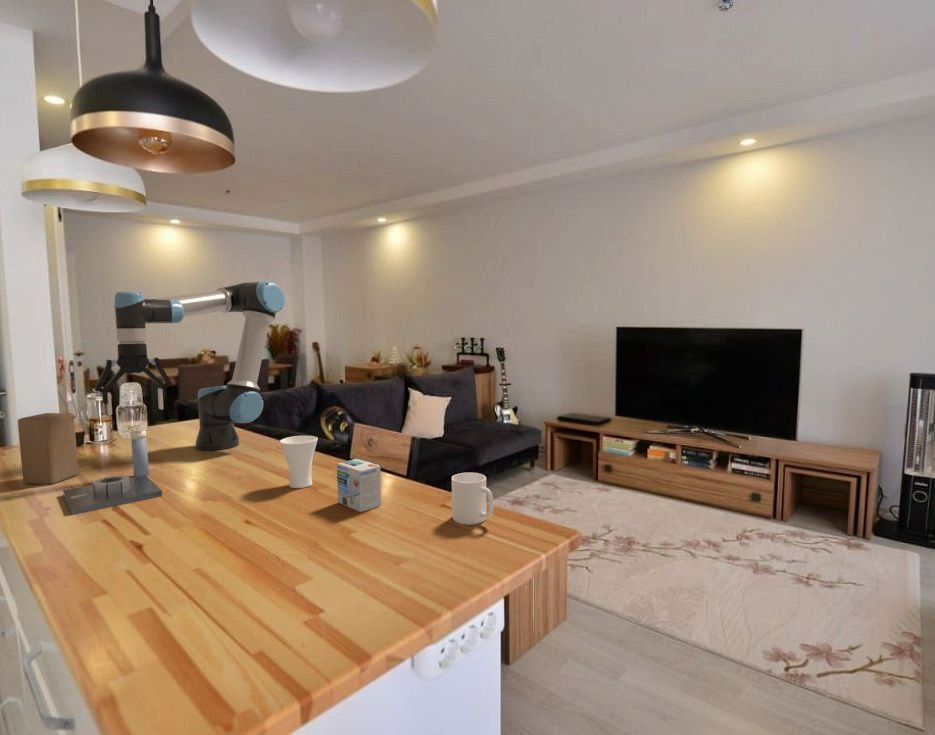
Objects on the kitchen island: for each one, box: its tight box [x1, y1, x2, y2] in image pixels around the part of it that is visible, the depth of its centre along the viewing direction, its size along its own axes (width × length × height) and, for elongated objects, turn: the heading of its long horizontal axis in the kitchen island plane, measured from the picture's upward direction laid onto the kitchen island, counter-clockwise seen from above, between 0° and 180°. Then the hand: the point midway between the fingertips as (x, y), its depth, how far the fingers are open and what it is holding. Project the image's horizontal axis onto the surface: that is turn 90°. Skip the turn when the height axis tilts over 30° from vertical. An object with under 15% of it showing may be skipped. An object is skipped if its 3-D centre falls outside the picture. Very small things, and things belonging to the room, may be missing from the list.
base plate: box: [62, 474, 163, 516], centre depth 145 cm, size 20×20×4 cm
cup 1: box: [279, 435, 318, 489], centre depth 152 cm, size 10×10×14 cm
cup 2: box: [451, 472, 495, 526], centre depth 124 cm, size 8×12×10 cm
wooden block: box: [17, 412, 79, 485], centre depth 159 cm, size 10×10×20 cm
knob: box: [130, 428, 150, 477], centre depth 163 cm, size 4×4×15 cm
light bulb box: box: [336, 458, 382, 513], centre depth 136 cm, size 11×7×11 cm, turn 47°
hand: (136, 411), depth 161 cm, fingers open, 13 cm apart
